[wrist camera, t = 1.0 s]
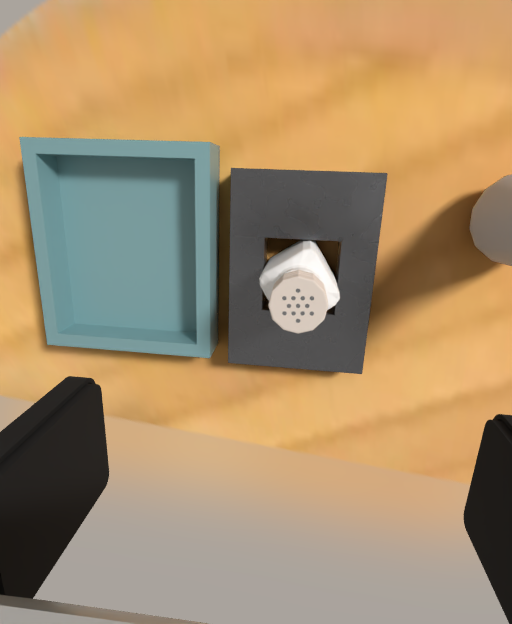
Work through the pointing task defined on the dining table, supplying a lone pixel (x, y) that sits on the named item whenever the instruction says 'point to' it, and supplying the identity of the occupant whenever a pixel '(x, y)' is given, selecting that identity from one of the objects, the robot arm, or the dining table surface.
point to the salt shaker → (494, 221)
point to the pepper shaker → (299, 287)
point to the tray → (126, 242)
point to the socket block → (309, 226)
